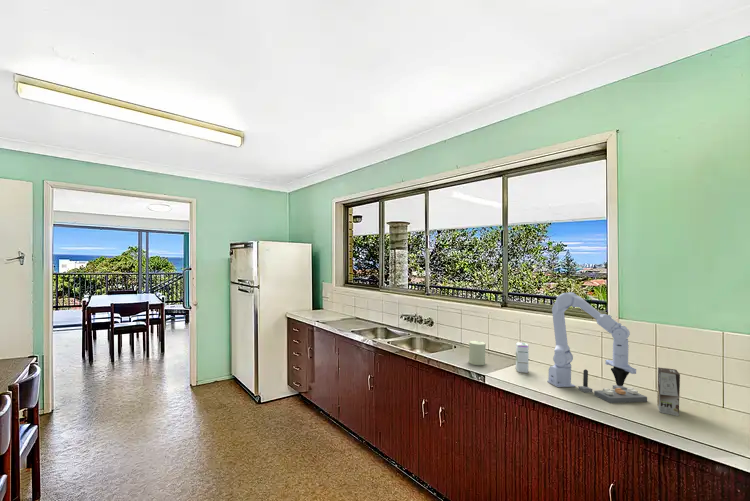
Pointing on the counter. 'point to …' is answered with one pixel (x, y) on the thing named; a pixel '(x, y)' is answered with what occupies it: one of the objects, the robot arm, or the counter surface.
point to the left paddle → (608, 391)
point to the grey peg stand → (585, 383)
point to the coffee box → (668, 391)
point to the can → (477, 352)
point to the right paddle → (632, 391)
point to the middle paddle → (620, 391)
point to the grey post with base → (619, 387)
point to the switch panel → (620, 397)
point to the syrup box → (522, 357)
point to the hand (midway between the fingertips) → (619, 385)
